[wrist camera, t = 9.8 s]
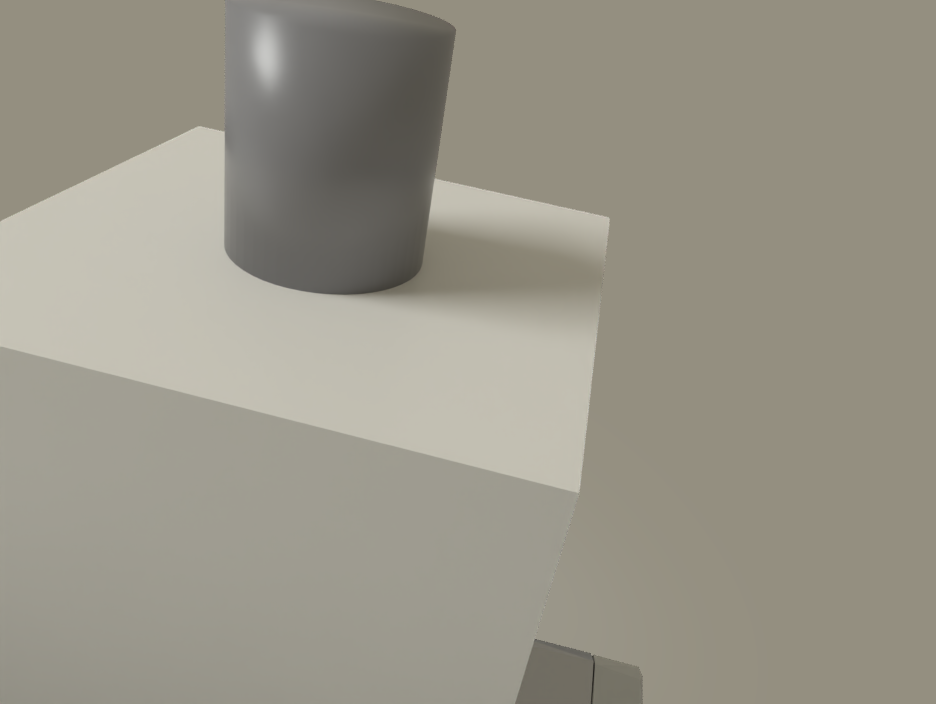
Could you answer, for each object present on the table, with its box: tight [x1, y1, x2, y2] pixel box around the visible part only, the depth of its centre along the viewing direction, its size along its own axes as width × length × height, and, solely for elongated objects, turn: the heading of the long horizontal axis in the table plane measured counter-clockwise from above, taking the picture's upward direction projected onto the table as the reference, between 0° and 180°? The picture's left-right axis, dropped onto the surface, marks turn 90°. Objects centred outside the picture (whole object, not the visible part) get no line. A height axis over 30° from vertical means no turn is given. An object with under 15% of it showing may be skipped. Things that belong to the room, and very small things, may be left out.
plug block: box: [0, 0, 610, 704], centre depth 8 cm, size 4×4×14 cm
